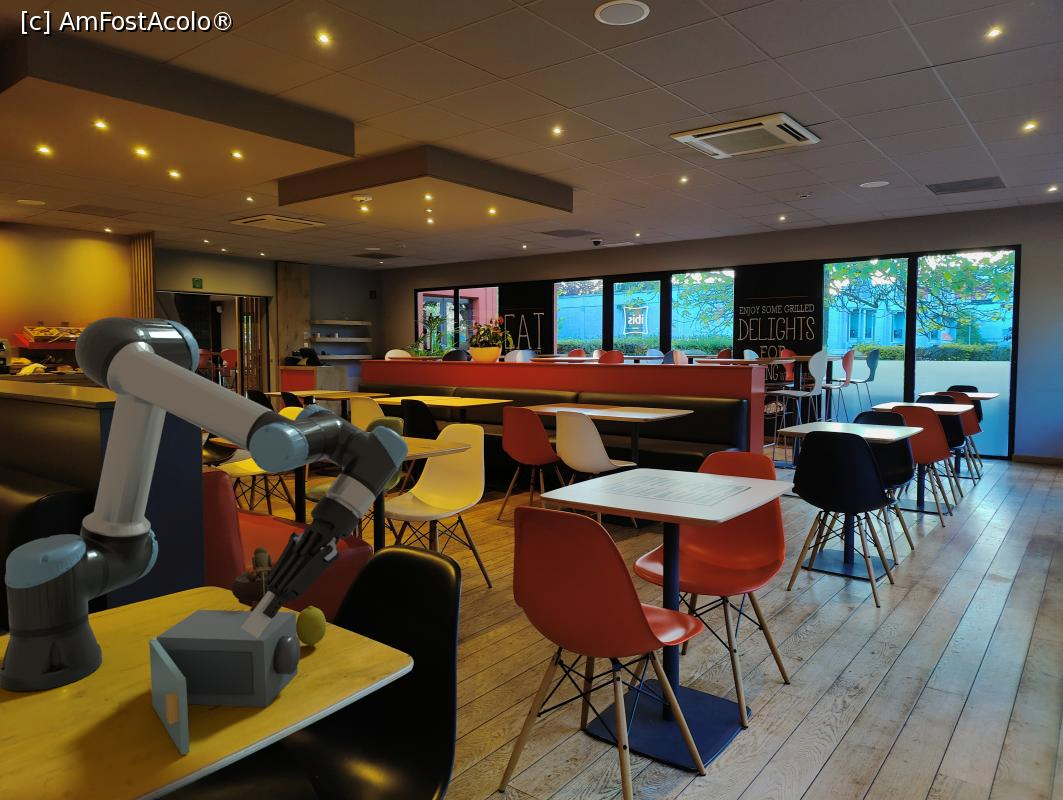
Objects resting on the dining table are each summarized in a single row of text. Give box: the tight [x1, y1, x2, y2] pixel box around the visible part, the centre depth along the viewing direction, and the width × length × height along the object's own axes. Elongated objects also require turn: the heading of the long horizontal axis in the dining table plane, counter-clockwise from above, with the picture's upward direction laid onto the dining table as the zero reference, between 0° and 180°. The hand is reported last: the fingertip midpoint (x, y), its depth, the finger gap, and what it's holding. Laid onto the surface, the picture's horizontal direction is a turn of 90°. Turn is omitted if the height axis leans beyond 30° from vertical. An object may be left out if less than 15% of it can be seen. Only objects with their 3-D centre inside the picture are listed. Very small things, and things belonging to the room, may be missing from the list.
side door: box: [148, 637, 190, 755], centre depth 106 cm, size 19×2×11 cm, turn 40°
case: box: [156, 609, 301, 708], centre depth 119 cm, size 20×12×11 cm, turn 85°
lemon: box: [296, 605, 327, 648], centre depth 136 cm, size 6×6×8 cm
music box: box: [231, 546, 273, 611], centre depth 135 cm, size 15×11×20 cm
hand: (249, 632), depth 109 cm, fingers closed
